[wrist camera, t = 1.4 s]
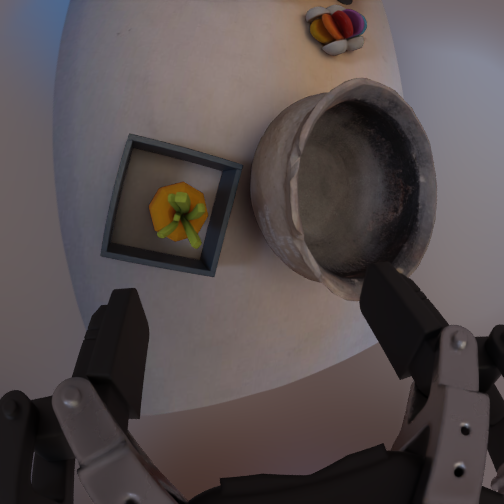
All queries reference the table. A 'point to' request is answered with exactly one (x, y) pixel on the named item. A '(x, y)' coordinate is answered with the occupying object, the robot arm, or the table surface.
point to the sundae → (346, 1)
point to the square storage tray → (217, 218)
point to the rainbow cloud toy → (337, 28)
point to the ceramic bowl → (345, 185)
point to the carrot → (179, 213)
